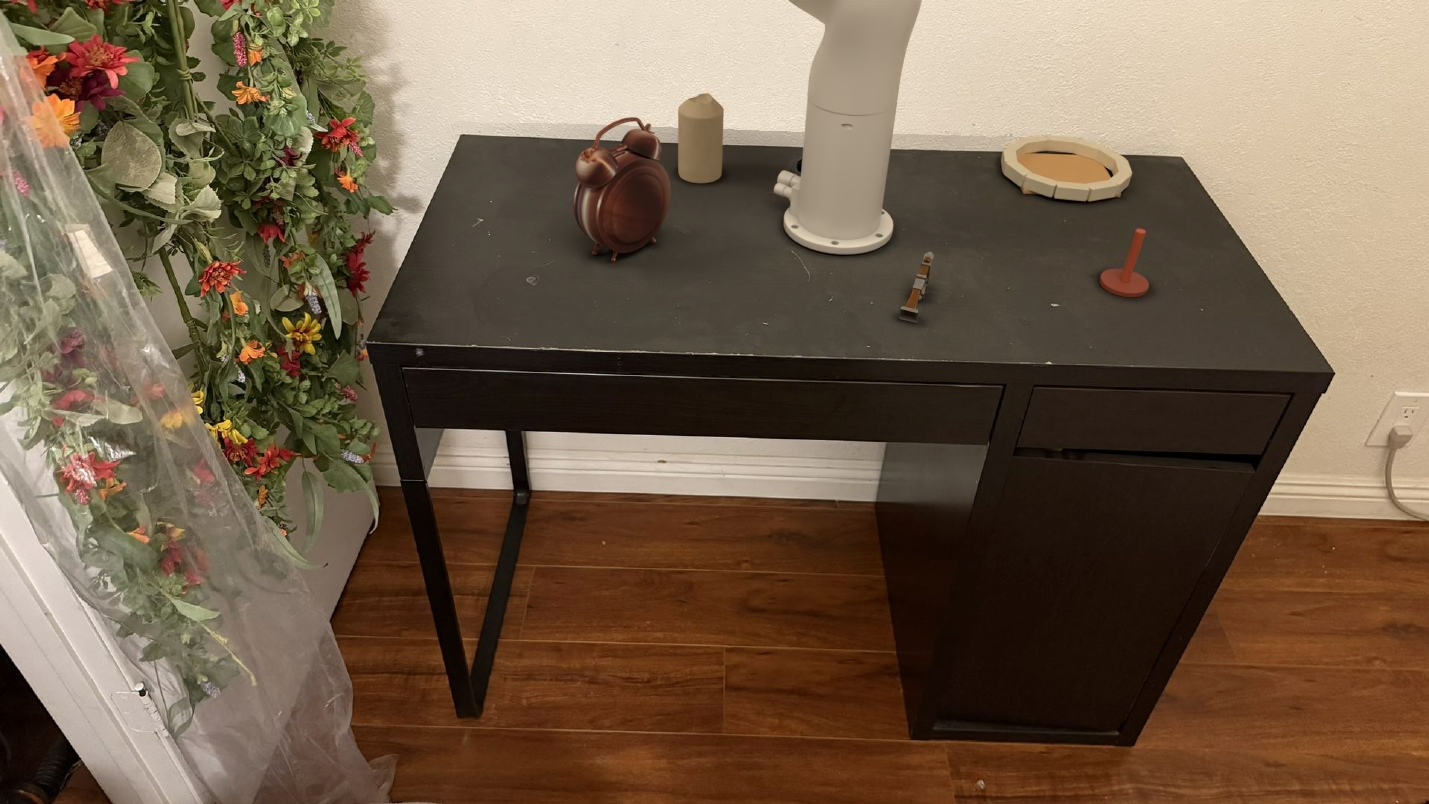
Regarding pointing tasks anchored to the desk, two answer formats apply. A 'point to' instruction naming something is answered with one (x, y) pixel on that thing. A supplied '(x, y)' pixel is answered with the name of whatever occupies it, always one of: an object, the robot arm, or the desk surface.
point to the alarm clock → (622, 190)
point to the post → (1127, 273)
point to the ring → (1066, 189)
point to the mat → (1064, 168)
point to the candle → (700, 139)
